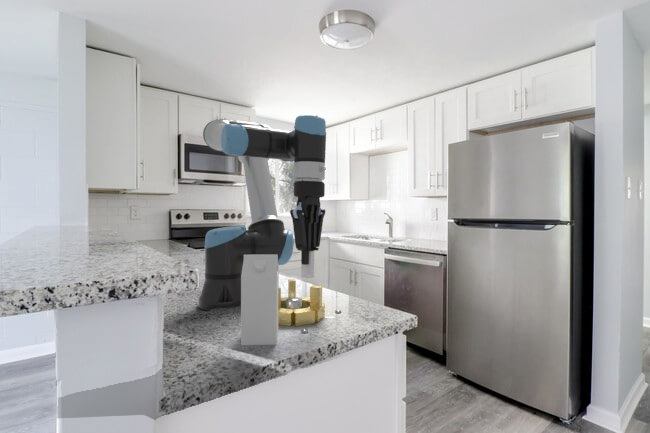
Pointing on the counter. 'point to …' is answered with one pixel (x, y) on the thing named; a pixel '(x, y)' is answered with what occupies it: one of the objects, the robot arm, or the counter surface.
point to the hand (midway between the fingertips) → (307, 276)
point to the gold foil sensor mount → (310, 307)
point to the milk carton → (259, 300)
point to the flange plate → (300, 307)
